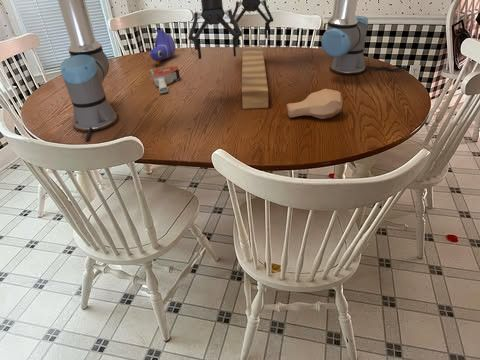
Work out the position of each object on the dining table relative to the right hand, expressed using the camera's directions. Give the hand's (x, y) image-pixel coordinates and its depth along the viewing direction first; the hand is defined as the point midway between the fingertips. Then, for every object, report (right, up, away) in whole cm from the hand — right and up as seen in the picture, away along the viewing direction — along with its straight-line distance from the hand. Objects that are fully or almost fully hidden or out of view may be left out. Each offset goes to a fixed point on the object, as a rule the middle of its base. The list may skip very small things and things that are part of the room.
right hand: (252, 38), depth 171 cm
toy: (-47, -4, +19) cm, 51 cm away
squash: (+21, -45, -42) cm, 65 cm away
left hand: (-15, -20, -32) cm, 41 cm away
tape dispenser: (-40, -25, -9) cm, 48 cm away
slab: (0, -23, -11) cm, 26 cm away
